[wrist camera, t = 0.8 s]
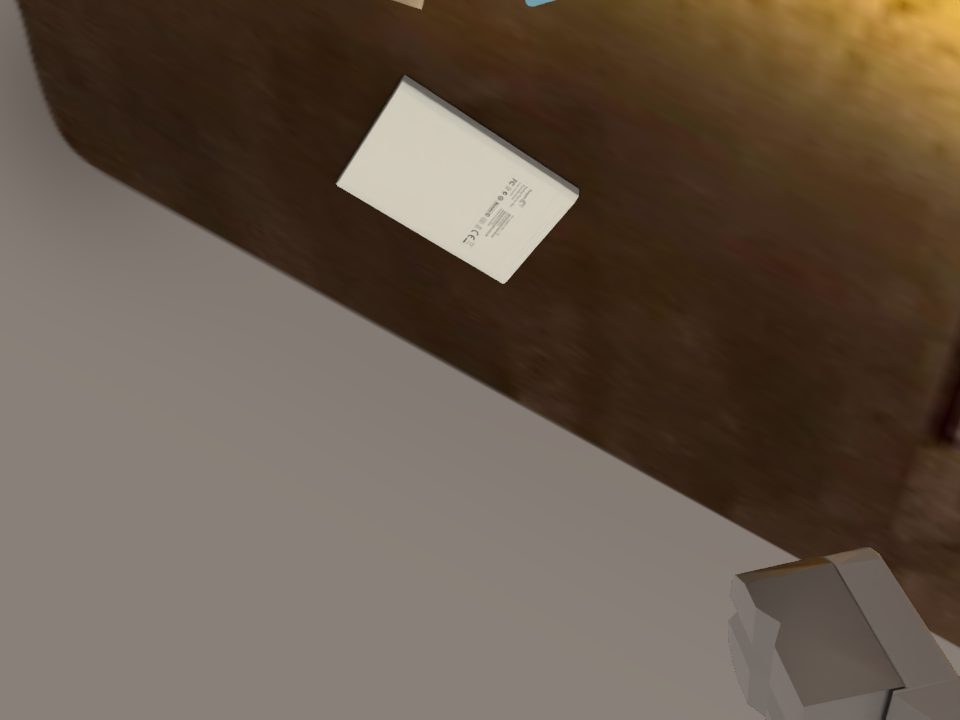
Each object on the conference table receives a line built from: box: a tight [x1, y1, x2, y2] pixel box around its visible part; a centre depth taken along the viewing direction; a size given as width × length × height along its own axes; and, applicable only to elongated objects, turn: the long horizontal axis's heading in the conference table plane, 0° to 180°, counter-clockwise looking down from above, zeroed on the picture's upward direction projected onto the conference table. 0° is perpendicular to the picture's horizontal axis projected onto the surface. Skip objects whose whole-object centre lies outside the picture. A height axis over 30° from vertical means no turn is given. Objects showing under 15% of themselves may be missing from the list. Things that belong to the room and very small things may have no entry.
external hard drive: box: [336, 75, 579, 284], centre depth 56 cm, size 2×8×12 cm
